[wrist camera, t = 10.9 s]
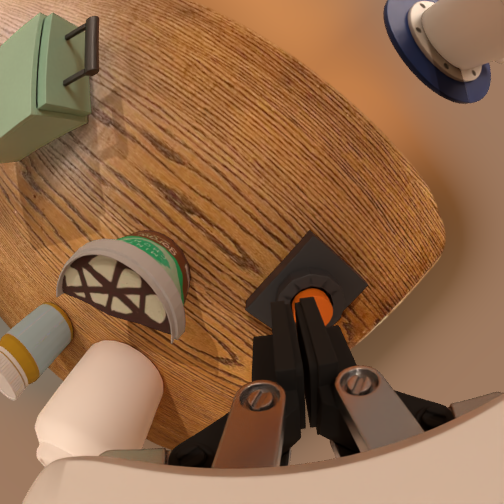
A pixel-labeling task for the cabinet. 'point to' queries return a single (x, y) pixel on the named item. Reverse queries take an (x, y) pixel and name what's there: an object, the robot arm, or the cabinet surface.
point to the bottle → (32, 347)
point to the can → (100, 404)
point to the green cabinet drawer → (67, 65)
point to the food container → (132, 279)
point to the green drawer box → (26, 98)
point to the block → (307, 280)
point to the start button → (321, 302)
